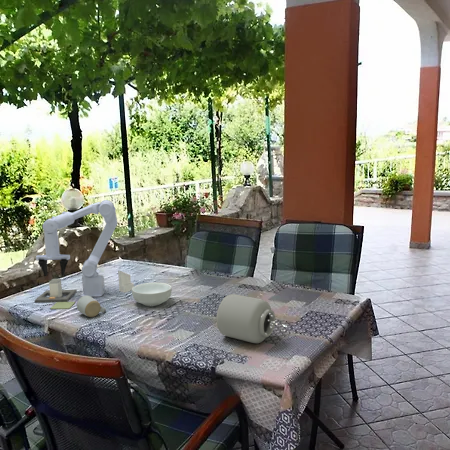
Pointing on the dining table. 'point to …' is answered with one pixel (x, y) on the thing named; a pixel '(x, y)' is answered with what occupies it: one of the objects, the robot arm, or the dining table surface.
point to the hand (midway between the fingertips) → (54, 275)
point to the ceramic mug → (89, 306)
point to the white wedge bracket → (124, 282)
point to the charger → (55, 288)
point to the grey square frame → (55, 299)
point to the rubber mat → (62, 305)
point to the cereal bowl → (151, 293)
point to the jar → (245, 318)
